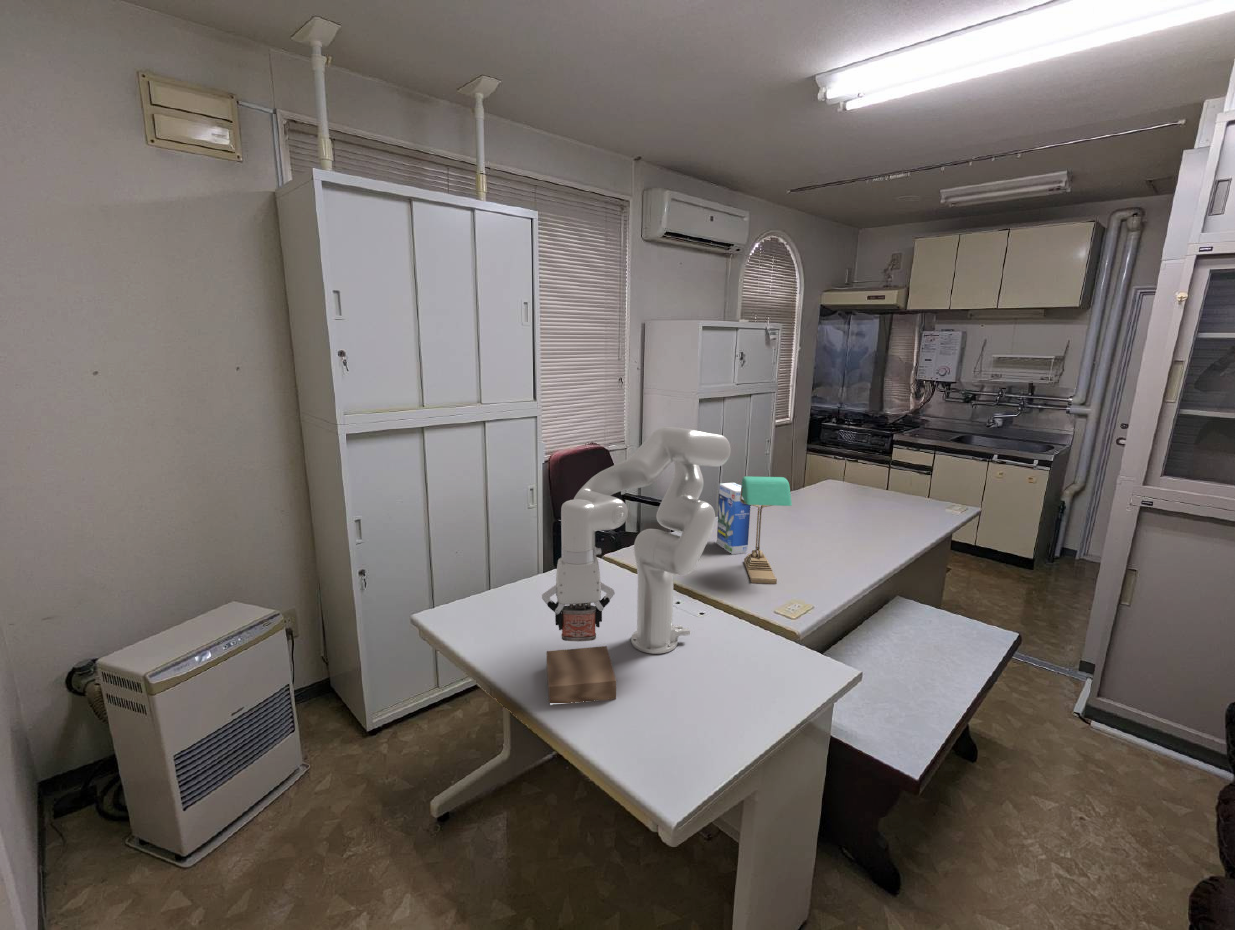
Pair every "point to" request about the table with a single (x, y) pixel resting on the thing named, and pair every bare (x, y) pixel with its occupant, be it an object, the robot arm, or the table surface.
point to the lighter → (578, 622)
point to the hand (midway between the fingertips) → (578, 625)
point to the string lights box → (732, 519)
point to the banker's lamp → (756, 494)
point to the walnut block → (580, 675)
